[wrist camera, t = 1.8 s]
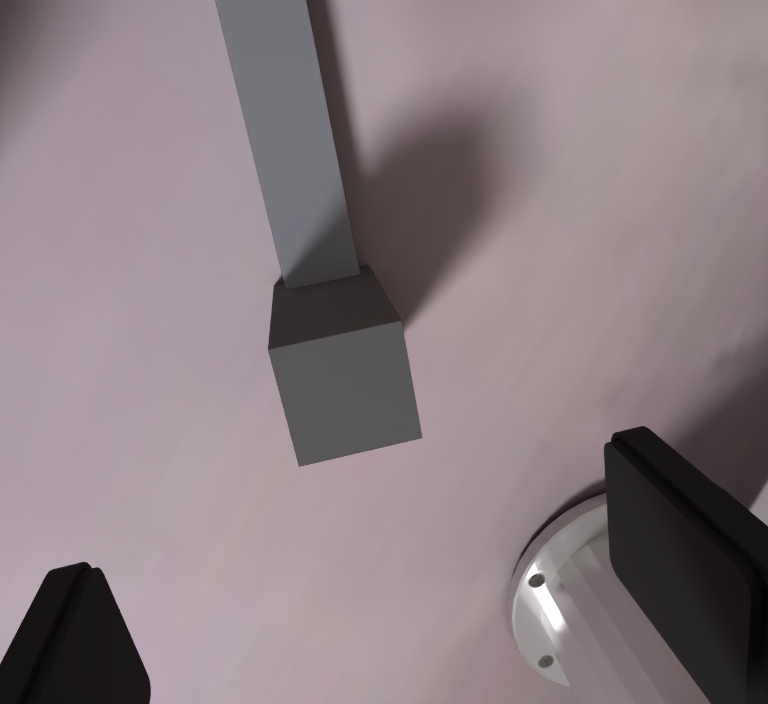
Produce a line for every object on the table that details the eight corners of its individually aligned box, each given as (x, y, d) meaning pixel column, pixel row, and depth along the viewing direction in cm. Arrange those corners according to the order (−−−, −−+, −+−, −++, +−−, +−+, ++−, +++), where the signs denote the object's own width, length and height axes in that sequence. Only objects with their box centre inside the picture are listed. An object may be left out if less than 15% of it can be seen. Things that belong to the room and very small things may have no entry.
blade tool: (385, 353, 27) (422, 437, 20) (296, 373, 27) (299, 466, 20) (280, -194, 20) (277, -381, 13) (158, -175, 20) (81, -355, 13)
